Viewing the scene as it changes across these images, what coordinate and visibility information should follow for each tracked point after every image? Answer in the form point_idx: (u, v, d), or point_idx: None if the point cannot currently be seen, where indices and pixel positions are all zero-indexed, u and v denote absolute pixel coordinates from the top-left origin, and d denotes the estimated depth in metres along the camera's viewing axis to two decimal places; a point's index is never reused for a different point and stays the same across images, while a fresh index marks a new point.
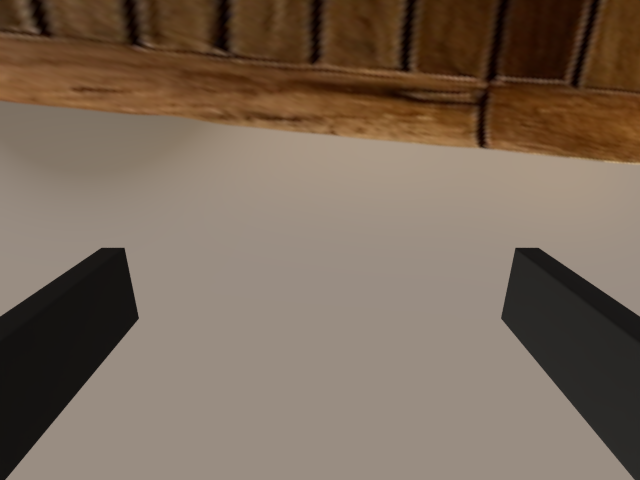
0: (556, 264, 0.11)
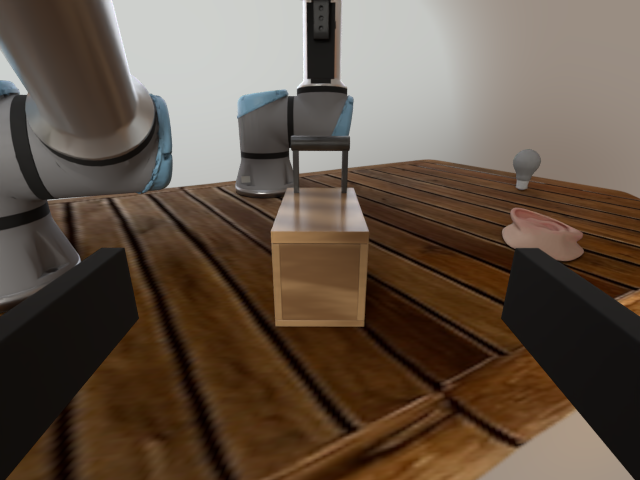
0: (556, 264, 0.11)
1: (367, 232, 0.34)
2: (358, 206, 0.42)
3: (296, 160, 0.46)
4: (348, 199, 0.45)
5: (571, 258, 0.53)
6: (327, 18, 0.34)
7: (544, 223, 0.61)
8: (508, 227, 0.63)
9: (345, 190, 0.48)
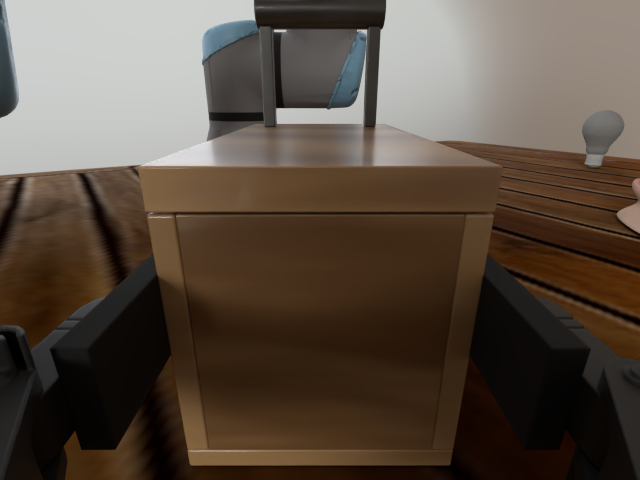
0: None
1: (496, 169, 0.09)
2: (414, 135, 0.17)
3: (267, 51, 0.21)
4: (383, 130, 0.20)
5: None
6: None
7: None
8: (630, 210, 0.38)
9: (372, 120, 0.23)
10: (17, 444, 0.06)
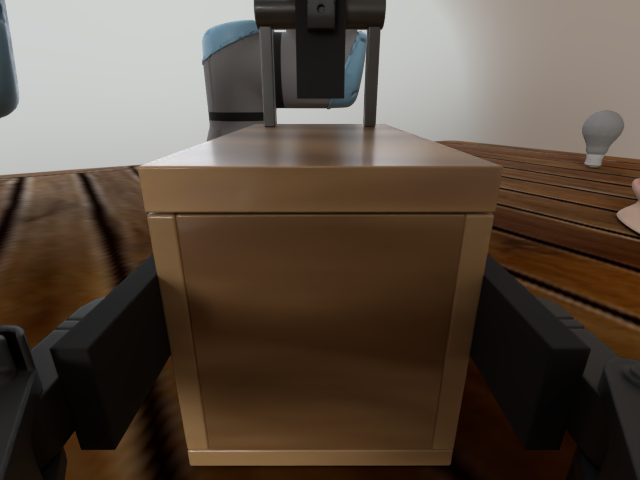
0: None
1: (496, 169, 0.09)
2: (414, 136, 0.17)
3: (267, 51, 0.21)
4: (383, 130, 0.20)
5: None
6: None
7: None
8: (630, 210, 0.38)
9: (372, 120, 0.23)
10: (17, 444, 0.06)
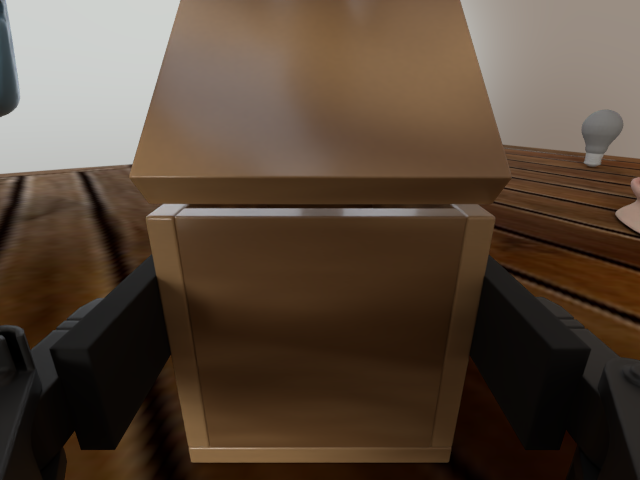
0: None
1: (504, 179, 0.09)
2: None
3: None
4: None
5: None
6: None
7: None
8: (628, 209, 0.39)
9: None
10: (17, 444, 0.06)
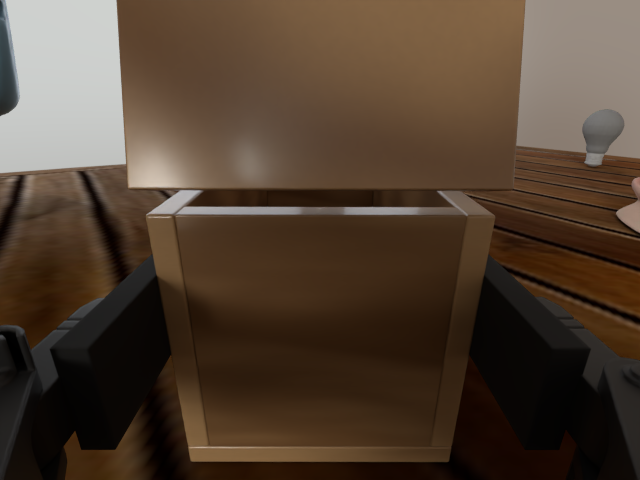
0: None
1: (505, 190, 0.09)
2: None
3: None
4: None
5: None
6: None
7: None
8: (629, 209, 0.38)
9: None
10: (17, 444, 0.06)
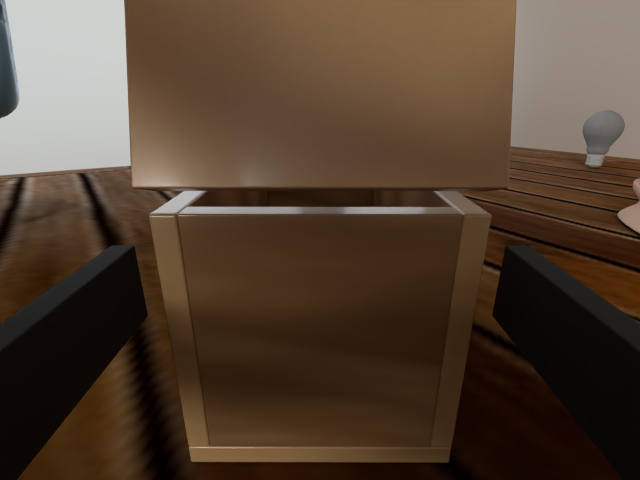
0: (545, 261, 0.11)
1: (500, 189, 0.09)
2: None
3: None
4: None
5: None
6: None
7: None
8: (630, 210, 0.38)
9: None
10: None
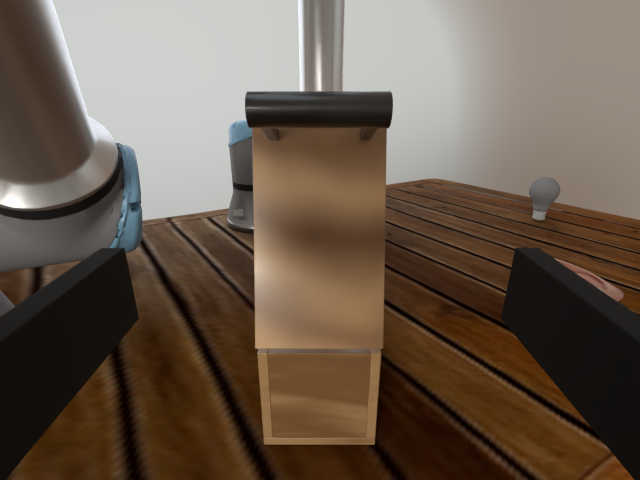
0: (556, 264, 0.11)
1: (380, 348, 0.26)
2: (382, 230, 0.26)
3: None
4: (369, 185, 0.25)
5: None
6: None
7: None
8: None
9: (367, 139, 0.25)
10: None
